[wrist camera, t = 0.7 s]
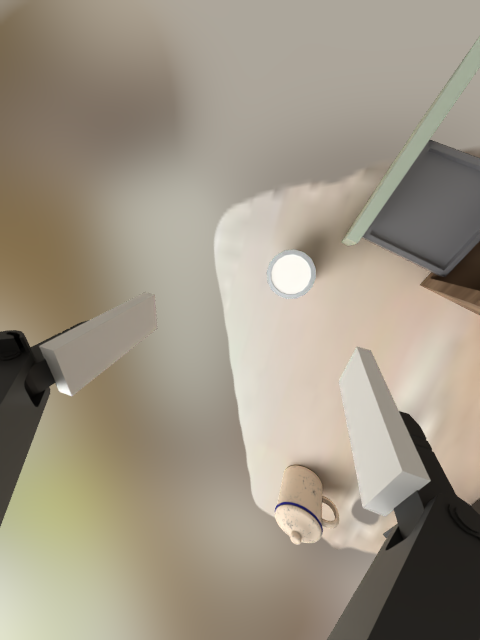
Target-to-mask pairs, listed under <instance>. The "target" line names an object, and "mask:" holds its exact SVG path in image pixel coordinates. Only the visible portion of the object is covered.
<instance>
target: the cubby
mask: <svg viewBox="0 0 480 640" xmlns="http://www.w3.org/2000/svg"><path fill="white" fill-rule="evenodd" d="M420 285H421V286H423V287H425V288H427V289H429V290H431V291H433V292H435V293H437V294H439V295H441V296H443V297H445V298H447V299H449V300H451V301H453V302H455V303H457V304H459V305H461V306H462V307H464V308H466V309H468V310H470V311H472V312H474V313H476V314H478V315H480V241H479V242H478V243H477V244H476V245H475V246H474V247H473V249H472V250H471V251H470V252H469V253H468V254H467V255H466V256H465V257H464V258H463V259H462V260H461V261H460V262H459V263H458V264H457V265H456V266H455V267H454V268H453V269H452V270H451V271H450V273H449V274H448V275H447V276H446V277H442V276H439V275H437V274H435V273H433V272H431V274H430V275H429V276H428V277H427V278H426V279H425V280H424V281H423V282H422V283H421V284H420Z"/></svg>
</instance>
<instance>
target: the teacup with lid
mask: <svg viewBox="0 0 480 640" xmlns="http://www.w3.org/2000/svg"><path fill="white" fill-rule="evenodd" d="M322 502H323V503H325V504H327V505H329V506H330V507H331V509H332V510H333V512H334V515H335V520H334V521H327V520H324V519H322ZM275 518H276V521H277V523H278V525H279V526H280V528H281V529H282V530H283V531H284V532H285V533H287V534H288V535H289V536H290V539H291V541H292V542H293V543H295V544H297V545H299V544H300V543H301V542H305V543H314V542H317V541H318V540H319V539H320V538H321V535H322V532H323V528H322V526H325V527H327V528H335V527H337V525H338V523H339V514H338V511H337V508H336V506H335V505H334V503H333V502H332V501H331V500H329V499H328V498H326V497H324V496H322V483H321V481H320V479H319V477H318V476H317V475H316V474H315V473H314V472H312V471H311V470H309V469H307V468H305V467H302V466H297V465H294V466H290V467H288V468H286V470H285V471H284V474H283V479H282V484H281V489H280V494H279V499H278V504H277V506H276V508H275Z"/></svg>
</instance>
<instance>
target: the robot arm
mask: <svg viewBox="0 0 480 640" xmlns="http://www.w3.org/2000/svg"><path fill="white" fill-rule="evenodd" d="M156 329H157V319H156V306H155V295H154V294H150V293H146V292H144V293H142V294H140V295H138V296H136V297H134V298H132V299H130V300H128V301H126V302H125V303H122V304H120V305H119V306H117V307H115V308H113V309H111V310H109V311H107V312H105V313H103V314H101V315H99V316H97V317H95V318H93V319H91V320H88V321H85V322H81V323H79V324H77V325H75V326H73V327H71V328H70V329H67V330H65V331H63V332H62V333H59V334H57V335H55V336H53V337H51V338H49V339H47V340H45V341H43V342H41V343H39V344H37V345H35V346H33V347H30V346H29V344H28V342H27V339H26V337H25V335H24V334H23V333H22V332H21V331H16V330H13V331H3V332H0V526H1V523H2V520H3V518H4V515H5V513H6V510H7V507H8V505H9V502H10V499H11V497H12V494H13V491H14V488H15V486H16V483H17V480H18V478H19V475H20V472H21V470H22V467H23V464H24V462H25V459H26V456H27V454H28V451H29V448H30V446H31V443H32V440H33V438H34V435H35V432H36V429H37V427H38V424H39V422H40V419H41V416H42V413H43V410H44V408H45V405H46V403H47V400H48V397H49V395H50V388H49V386H51V385H52V384H54V383H56V385H57V388H58V390H59V391H60V392H62V393H65V394H67V395H70V396H73V395H74V394H76V393H77V392H78V391H79V390H80V389H82V388H83V387H84V386H85V385H87V384H88V383H89V382H90V381H92V380H93V379H94V378H96V377H97V376H98V375H99V374H101V373H102V372H103V371H104V370H106V369H107V368H108V367H109V366H111V365H112V364H113V363H114V362H116V361H117V360H118V359H119V358H121V357H122V356H123V355H124V354H126V353H127V352H128V351H130V350H131V349H132V348H133V347H134V346H136V345H137V344H138V343H140V342H141V341H142V340H143V339H144V338H146V337H147V336H148V335H150V334H151V333H152V332H153V331H155V330H156ZM339 385H340V390H341V396H342V401H343V406H344V411H345V417H346V422H347V427H348V432H349V438H350V443H351V448H352V453H353V459H354V464H355V469H356V474H357V480H358V485H359V490H360V495H361V501H362V506H363V508H364V509H367V510H369V511H372V512H375V513H377V514H380V515H382V516H385V517H386V516H387V515H388V514H389V513H391V512H392V511H393V510H394V512H395V515H396V518H397V522H398V524H396V525H395V526H394V527H392V528H391V529H389V530H388V531H387V532H385V533H384V534H383V535H384V536H385V537H386V538H387V539H386V540H385V542H384V544H383V546H382V547H381V549H380V551H379V552H378V554H377V556H376V557H375V559H374V561H373V563H372V564H371V566H370V568H369V569H368V571H367V573H366V574H365V576H364V578H363V580H362V581H361V583H360V585H359V586H358V588H357V590H356V591H355V593H354V595H353V597H352V598H351V600H350V602H349V603H348V605H347V607H346V609H345V610H344V612H343V614H342V615H341V617H340V619H339V620H338V622H337V624H336V626H335V627H334V629H333V631H332V632H331V634H330V636H329V637H328V639H327V640H480V500H478V501H477V502H475V503H474V504H473V505H472V506H470V505H469V504H467V503H466V502H465V501H463V500H462V499H460V498H459V497H457V495H456V494H455V492H454V490H453V488H452V486H451V484H450V482H449V481H448V479H447V477H446V475H445V473H444V471H443V469H442V467H441V465H440V463H439V462H438V460H437V458H436V456H435V454H434V452H432V448H431V446H430V444H429V443H428V441H426V437H425V435H424V433H423V431H422V429H421V427H420V426H419V425H418V424H417V422H416V421H415V420H414V419H413V418H412V417H411V416H410V415H409V414H407V413H403V412H400V411H398V409H397V406H396V404H395V402H394V400H393V398H392V395H391V393H390V391H389V389H388V387H387V385H386V382H385V380H384V378H383V376H382V374H381V372H380V369H379V367H378V365H377V363H376V361H375V359H374V356H373V354H372V352H371V350H367V349H363V348H360V347H356V349H355V351H354V353H353V354H352V356H351V358H350V360H349V362H348V364H347V366H346V368H345V370H344V372H343V374H342V376H341V377H340V379H339Z"/></svg>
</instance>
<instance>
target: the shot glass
mask: <svg viewBox="0 0 480 640" xmlns="http://www.w3.org/2000/svg"><path fill="white" fill-rule="evenodd" d="M315 279H316V268H315V265H314V263H313V261H312V259H311V258H310V257H309V256H308V255H306V254H305V253H304V252H301V251H298V250H294V249H293V250H286V251H283V252H281V253H279V254H278V255H276V256H275V257H274V258H273V260H272V261H271V262H270V263H269V267H268V270H267V282H268V284H269V286H270V288H271V290H272V291H273V292H275V293H276V294H277V295H278V296H280V297H283V298H286V299H293V298H298V297H300V296H303V295H305V294H306V293H307V292H308V291H309V290H310V289H311V288H312V286H313V284H314V281H315Z"/></svg>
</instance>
